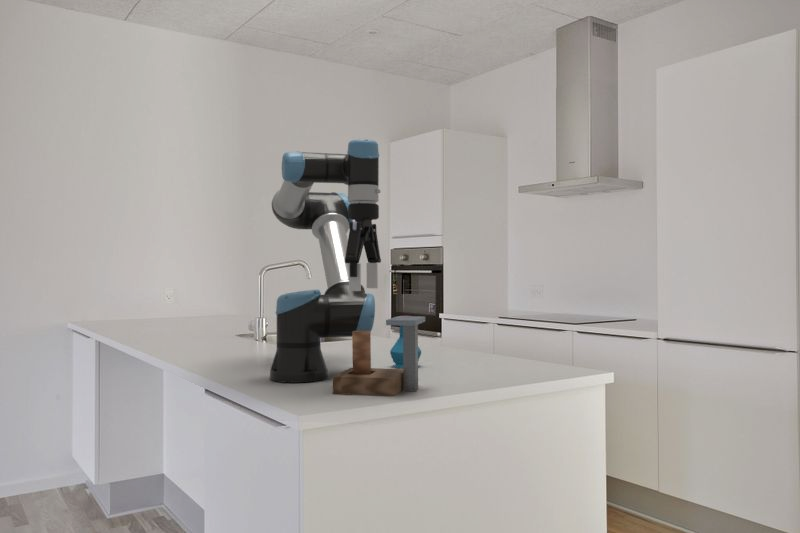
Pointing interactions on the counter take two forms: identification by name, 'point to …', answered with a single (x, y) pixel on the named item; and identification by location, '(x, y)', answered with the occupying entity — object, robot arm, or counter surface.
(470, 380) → the counter surface
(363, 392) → the socket board
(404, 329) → the grey t-shaped block
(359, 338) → the peg
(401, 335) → the perfume bottle
